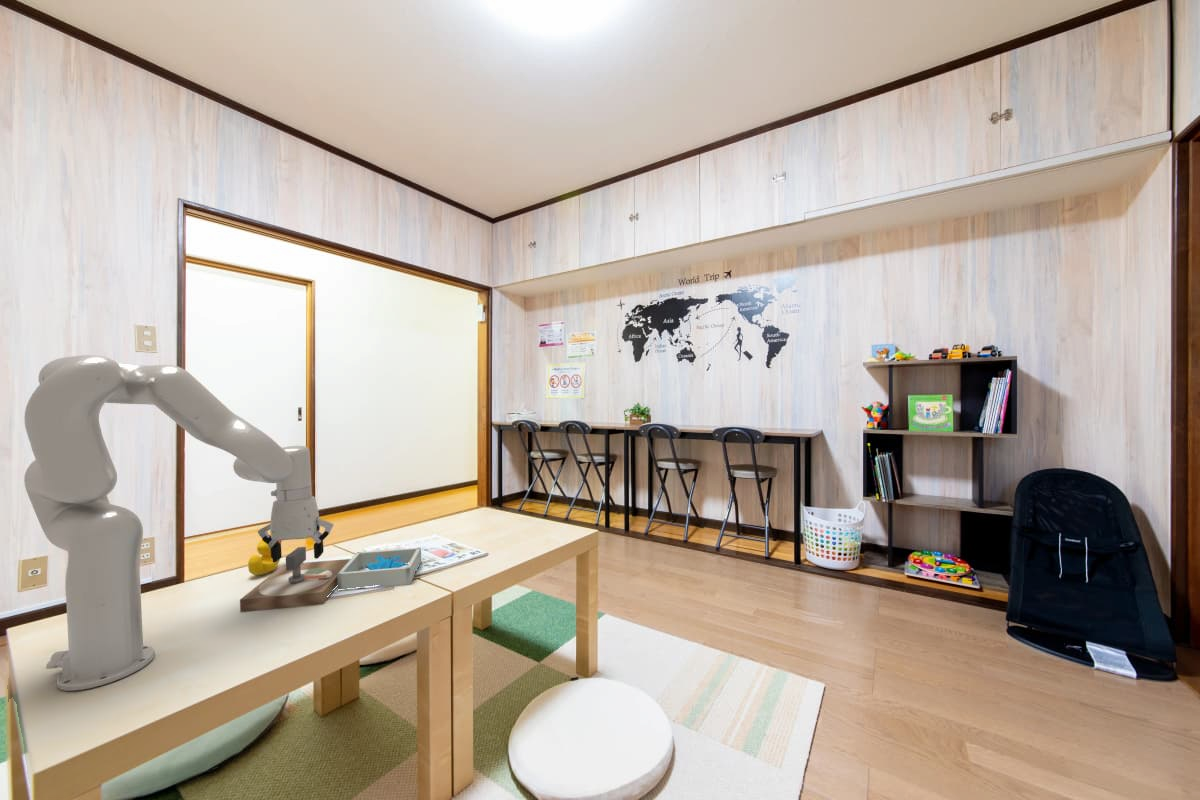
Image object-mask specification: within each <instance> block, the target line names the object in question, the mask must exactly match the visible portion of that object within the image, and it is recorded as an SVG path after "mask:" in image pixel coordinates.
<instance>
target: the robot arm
mask: <svg viewBox="0 0 1200 800" xmlns="http://www.w3.org/2000/svg"><path fill="white" fill-rule="evenodd" d="M38 382H39V384H38V386H36V388H35V390H34V391H33V393H32V394H31V396H30V397H29V399H28V402H27V404H26V407H25V411H24V427H25V431H26V434H27V438H28V440H29V443H30V447H31V451H32V454H33V456H34V460H33V461H31V463H30V464H29V465H28V467H27V468H26V470H25V473H24V477H23V478H24V487H25V491H26V493H27V496H28V498H29V501H30V503H31V505H32V508H33V510H34V513H35V515H36V518H37V520H38V523H39V525H40V527H41V529H42V532H43V533H44V535H45V537H46V539H47V540H48V541H49V542H50V543H51V544H52V545H54V546H55V547H56V548H59V549H61V550H64V551H66V552H67V556H68V557H67V566H66V570H65V571H66V573H65V601H66V602H65V605H66V616H67V617H66V621H67V643H68V650H63V651H62V650H61V651H55V652H54V653H53V654H52V655H51V657H50V659H49V661H48V662H47V663H46V669H47V670H50V669H58V668H61V669H62V673H61V674H60V675H58V676H57V679H56V687H57V689H59V690H61V691H69V692H70V691H72V692H73V691H81V690H83V691H84V690H88V689H93V688H96V687H99V686H100V687H101V686H104V685H106V684H110V683H113V682H115V681H118V680H121V679H123V678H126V677H128V676H130V675H131V674H134V673H135V672H138V671H139V670H141V669H142V668H144V667H145V666H147V665H148V664H149V663H150V662H151V661H152V660H153V659H154V657H155V655H156V654H155V648H154V647H152V646H151V645H145V644H144V635H143V634H144V633H143V612H142V611H143V610H142V590H141V589H142V588H141V587H142V586H141V571H140V570H141V566H140V565H141V563H140V562H141V551H142V544H143V539H144V536H143V535H144V527H143V523H142V522H141V519H140V518H139V516H138V515H137V514H136V513H135V512H133V511H131V510H130V509H128V508H126V507H123V506H119V505H114V504H111V502H110V500H109V498H108V497H109V496H108V495H109V494H110V493H111V492H112V491H113V490H114V489H115V487H116V485H117V482H118V473H117V470H116V467H115V465H114V463H113V460H112V458H111V455H110V452H109V450H108V447H107V445H106V442H105V439H104V437H103V433H102V429H101V425H100V424H101V423H100V412H101V409H102V407H103V406H104V404H119V405H121V404H123V405H153V406H155V407H156V408H157V409H159V410H160V411H161V412H163V413H164V414H165V415H166V416H168V417H169V418H170V419H171V420H172V421H173V422H175V423H176V424H177V425H178V426H180V428H182V429H183V430H184V431H185V432H186V433H188V434H189V435H190V436H192V438H194V439H196V440H198V441H199V442H201V443H203V444H205V445H209V446H212V447H214V448H216V449H220V450H222V451H225V452H226V453H229V454H231V455H232V456H234V457H235V460H234V462H233V471H234V474H236V475H237V476H238V477H239V478H241V479H243V480H247V481H252V482H260V483H266V484H275V485H276V488H275V490H271V492H270V495H271V497H275V498H276V499H275V500H274V501H273V503H272V507H271V512H270V513H271V514H270V523H269V524H268V525H266V526H264V527H262V528H260V529H259V530H257V533H258V536H259V537H260V538H261V540H263V541H264V542H265V543H267V544H268V547H271V558H273V562H277V561H278V560H279V559H280V560H281V559H282V558H283V557H282V543H281V544H280V543H279V541H280V540H282V541H291V540H302V539H303V540H305V539H309V538H311V540H313V541H314V543H313V558H314V559H315V560H316V559H319V558H320V557H321V556H322V555H323V554H324V540H325V539H326V538H327V537H328V536H329V535H330V534H331V531H332V530H333V528H334V523H332V522H329V521H327V520H324V519H322V518H320V513H319V508H318V503H317V500H316V498H315V496H314V495H313V490H312V488H313V487H312V470H311V452H310V449H309V447H307V446H304V445H290V446H284V447H281V446H280V445H279V444H278V443H277V442H276V441H275V440H274V439H273V438H272V437H270V436H269V435H268V434H267V433H265V432H263V431H262V430H260V429H259V428H258V427H256V426H254V425H253V424H251V423H250V422H248V421H247V420H245V419H244V418H241V417H240V416H238V415H237V414H236V413H234V412H233V411H232V410H230V409H229V408H228V407H227V406H226V405H225V404H223V403H222V401H220V400H219V398H218V397H216V396H215V395H214V394H213V393H212V392H211V391H210V390H208V389H207V388H206V387H205V386H204V385H203V383H201V382H200V381H199V380H198V379H197V378H196V377H194V376H193V375H192V374H191V373H190V372H189V371H188V370H186V369H184V368H183V367H180V366H177V365H173V364H158V365H157V364H155V365H143V364H129V363H128V364H127V363H117V362H116V361H115V360H113V359H111V358H109V357H106V356H103V355H96V354H84V355H83V354H82V355H74V356H65V357H59V358H56V359H54V360H51V361H49V362H47V363H46V364H45V365H44V366H43V367H41V369H40V371H39V374H38ZM321 527H322V528H324V531H323V533H322V532H321V531H320V529H321ZM268 531H270V534H269V533H268Z"/></svg>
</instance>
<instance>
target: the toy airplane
mask: <svg viewBox="0 0 1200 800" xmlns="http://www.w3.org/2000/svg"><path fill="white" fill-rule="evenodd" d="M400 557H402V555H399V556H395V557H394V558H392V559H391V558H388V559H387V558H385V559H383V557H381V556H376V558H377V559H378V560H379V561H380V562H377V563H371V564H366V568H365V569H367V570H377V569H389V568H401V567H404V566H405V565H406V564H405V563H406V562H397V561H395V560H397V559H398V558H400Z"/></svg>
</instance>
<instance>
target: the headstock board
mask: <svg viewBox="0 0 1200 800" xmlns="http://www.w3.org/2000/svg"><path fill="white" fill-rule="evenodd" d="M350 560H351V558H346V559H335V560H334V559H333V560H321V561H319V560H318V561H310V562H309V561H308V562H303V563H301V574H304V575H305V576H315V575H327V577H325V578H313V579H304V580H303V581H300V582H297V583H289V582H288V578H289V577H291V576H293V574H292V570H287V571H286V563H284V564H283V565H282V566H280V567H279V568H277V570H275V571H274V572H273V573H271V574H270V575H269V576H267V577H266V578H264V579H263V581H261V582H260V583H259V584H257V585H256V586H255V587H254V588H253V589H251V590H250V591H249V592H248V593H246V594H245V595H244V596H242V597H241V598H240V599H239V609H240V610H239V611H240V613H242V612H253V611H263V610H265V611H266V610H274V609H285V607H286V608H294V607H295V608H296V607H305V606H315V605H316V606H317V605H323V604H324V603H325V602H326V601H327V600H328V599H327V596H328V595H329V594H330V593H331V592H332V590H333V589H334V588H335V587H336V586H337V585H338V583H337V574H338V573H339V572H340V571H341V570H342V568H343V567H344V566H345V565H346V564H347V563H348V562H349V561H350Z"/></svg>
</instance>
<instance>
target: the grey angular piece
mask: <svg viewBox="0 0 1200 800" xmlns="http://www.w3.org/2000/svg"><path fill="white" fill-rule="evenodd" d="M306 560H307V547H306V546H298V547H296V548H295V549H294V550H293V551H291V552H290V553H289V554H287V555H286V556H285V564H286V571H287V570H292V574H293V576H291V577H289V578H288V582H289V583H297V582H300V581H303V580H304V579H313V578H325V577H327V575H315V576H305V575H304V574H301V563H305V561H306Z"/></svg>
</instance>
